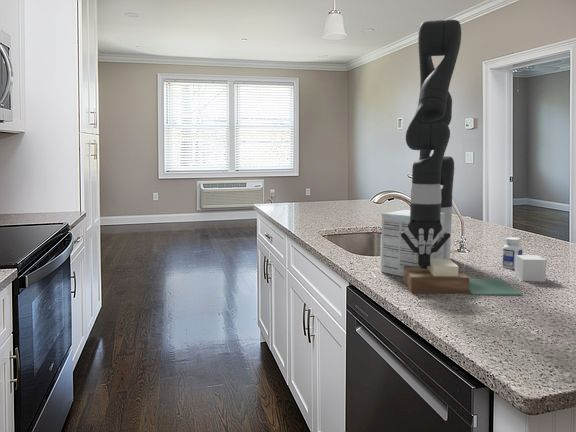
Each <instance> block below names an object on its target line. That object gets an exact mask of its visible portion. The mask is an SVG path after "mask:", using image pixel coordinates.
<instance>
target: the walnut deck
mask: <svg viewBox="0 0 576 432" xmlns="http://www.w3.org/2000/svg"><path fill="white" fill-rule="evenodd" d="M402 279H403V282H404V284H405V285H406V287H407V289H408V291H409V292H410V293H411V294H455V295H456V294H458V295H459V294H463V295H465V294H466V295H467V294H468V295H469V294H470V293H469V279H470V277H469V276H468V275H467V274H465V272H463V271H462V270H461V269H460V268H458V276H433V275H432V274H431V273H430V271H429V270H428V269H424V268H421V267H420V266H404V276H403V278H402Z"/></svg>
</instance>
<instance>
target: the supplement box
mask: <svg viewBox="0 0 576 432" xmlns="http://www.w3.org/2000/svg"><path fill="white" fill-rule="evenodd" d="M444 219H445V213H441V218H440V222H441V225H442V229H443V230H444ZM409 222H410V209H401V210H397V211H391V212H383V213H381V249H380V250H381V253H380V255H381V256H380V257H381V258H380V260H381V261H380V262H381V263H380V271H381V273H385V274H389V275H395V276H400V277H404V266H419V265H418V253H417V252H413V251H412V250H411V248H410V247H409V246H408V244H407V243H406V242H405V241H404V239H403V238H402V237H401V235H400V232H401V231H404V230H406V229H407V228H408V224H409ZM409 234H410V237H409V239H410V240H411V242H412V243H413V244H414V246H416V247H417V240H416V239H415V238H414V236H413V235H412V233H411V232H410V233H409ZM439 234H440V232H439ZM439 234H438V235H437V236H436V238H435V239H434V240H433V241H432V246H433V245H434V243H435V242H436V241H437V240H438V239H439V238H440V237H439ZM432 246H431V247H432ZM424 247H425V240H424ZM443 253H444V244H443V245H442V247H441V248H440V249H439V250H438V251H437V252H433V253H431V255H430V259H443Z"/></svg>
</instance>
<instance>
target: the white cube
mask: <svg viewBox="0 0 576 432" xmlns="http://www.w3.org/2000/svg"><path fill="white" fill-rule="evenodd" d="M547 261H548V260H547V259H546V258H543V257H542V256H540V255H537V254H536V255H535V254H522V255H516V257H515V269H514V276H515V277H516V278H518V279H519V280H520V281H521V282H546V277H547V263H548V262H547Z"/></svg>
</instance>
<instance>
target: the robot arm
mask: <svg viewBox="0 0 576 432" xmlns="http://www.w3.org/2000/svg"><path fill="white" fill-rule="evenodd" d="M417 37H418V38H417V39H418V59H419V76H420V77H419V78H420V79H419V80H420V85H419V86H420V88H419V89H420V90H419V97H418V103H417V108H416V111H415V113H414V116H413V117H412V119H411V121H410V123H409V125H408V127H407V129H406V132H405V143H406V145H407V147H408V148H409V149H410V150H413V151H419V158H418V159H419V160H416V161H414V162H413V164H412V170H411V171H412V177H411V189H410V204H409V205H410V207H409V208H410V209H409V210H410V222H409V224H408V228H407V229H406V230H404V231H401V232H400V235H401V237H402V238H403V239H404V241H405V242H406V243H407V244H408V246H409V247H410V248H411V250H412V251H413V252H417V253H418V265H419V266H420V267H421V268H424V269H427V266H429V265H430V255H431V253H433V252H437V251H438V250H439V249H440V248H441V247H442V245H443V244H444V253H443V259H450V260H451V248H452V244H451V243H452V220H453V218H452V217H453V215H452V214H453V186H454V176H455V161H454V158H453V157H452V156H449V155H447V156H445V153H446V150H447V146H448V144H449V141H450V139H451V130H450V124H451V121H452V116H453V114H452V111H453V99H452V98H453V96H452V95H451V93H450V91H449V90H450V89H449V88H450V84H451V81H452V76H453V73H454V71H455V68H456V64H457V63H456V62H457V59H458V56H459V53H460V48H461V43H462V26H461V23H460V21H459V20H457V19H439V20H438V19H437V20H436V19H435V20H425V21H422V23H421V24H420V26H419V29H418V36H417ZM441 56H442V57H443V59H442V60H440V62H439V64H438V65H437V66H436V67H435V65H434V63H433V57H441ZM432 151H433V153H432ZM431 153H432V154H431ZM430 155H431V156H430ZM441 213H445V219H444V230H443V229H442V225H441V222H440V218H441ZM410 232H411V233H412V235H413V236H414V238H415V239H416V240H417V247H416V246H414V244H413V243H412V242H411V240H410V239H409V237H410V234H409V233H410ZM439 232H440V234H439ZM438 234H439V237H440V238H439V239H438V240H437V241H436V242H435V243H434V245H433V246H432V241H433V240H434V239H435V238H436V236H437V235H438ZM424 240H425V247H424ZM431 246H432V247H431Z"/></svg>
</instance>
